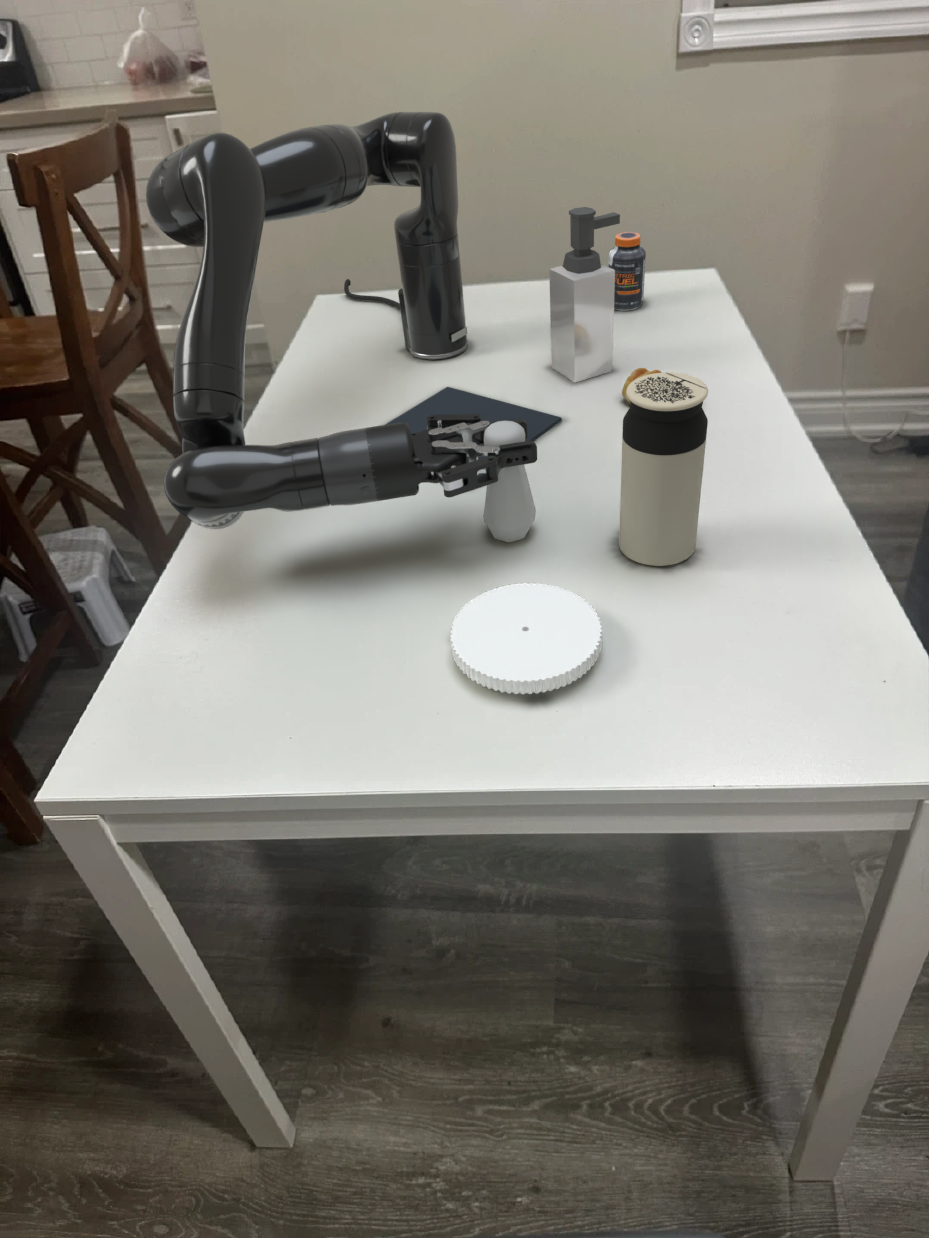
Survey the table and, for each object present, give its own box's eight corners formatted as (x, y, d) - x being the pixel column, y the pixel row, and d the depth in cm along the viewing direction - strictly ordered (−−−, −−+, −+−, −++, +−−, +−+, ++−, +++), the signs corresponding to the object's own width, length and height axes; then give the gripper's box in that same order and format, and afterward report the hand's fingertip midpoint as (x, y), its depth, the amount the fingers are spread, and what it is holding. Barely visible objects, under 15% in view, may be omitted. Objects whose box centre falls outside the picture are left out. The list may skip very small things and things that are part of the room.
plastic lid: (448, 704, 77) (445, 684, 75) (456, 605, 87) (454, 585, 86) (607, 700, 75) (607, 679, 74) (596, 600, 86) (596, 580, 85)
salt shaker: (542, 521, 98) (539, 416, 90) (528, 549, 94) (523, 442, 86) (493, 515, 100) (485, 411, 91) (477, 543, 96) (468, 437, 87)
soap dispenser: (625, 367, 127) (631, 207, 113) (574, 382, 125) (573, 221, 111) (601, 352, 132) (603, 197, 118) (551, 367, 129) (547, 211, 115)
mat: (352, 447, 115) (351, 444, 115) (447, 389, 127) (447, 386, 126) (468, 488, 105) (468, 484, 105) (561, 420, 116) (561, 417, 116)
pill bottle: (606, 312, 144) (608, 241, 137) (608, 299, 149) (609, 230, 142) (643, 311, 143) (646, 239, 136) (643, 298, 148) (646, 228, 141)
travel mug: (649, 577, 88) (658, 416, 77) (604, 541, 94) (607, 385, 82) (711, 552, 91) (729, 391, 79) (663, 517, 96) (674, 363, 85)
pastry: (702, 402, 117) (705, 375, 114) (673, 422, 113) (675, 395, 111) (645, 385, 122) (646, 359, 120) (615, 403, 119) (616, 377, 116)
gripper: (367, 466, 81) (546, 439, 82) (358, 402, 92) (515, 378, 93) (379, 533, 86) (548, 506, 87) (369, 464, 97) (519, 440, 98)
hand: (530, 440), depth 90 cm, fingers closed on salt shaker, 4 cm apart
